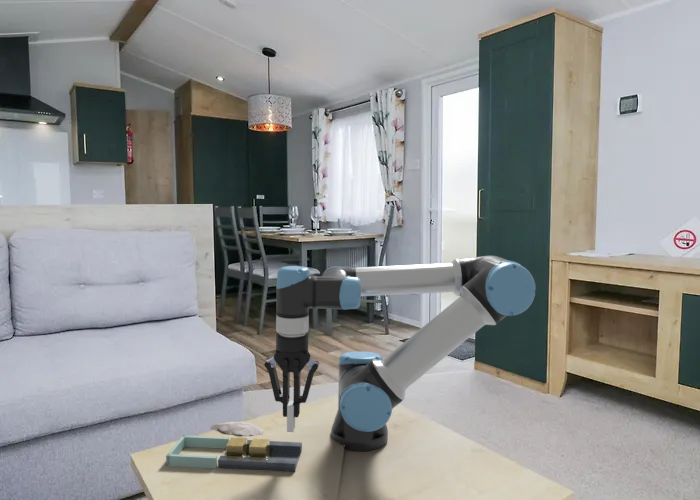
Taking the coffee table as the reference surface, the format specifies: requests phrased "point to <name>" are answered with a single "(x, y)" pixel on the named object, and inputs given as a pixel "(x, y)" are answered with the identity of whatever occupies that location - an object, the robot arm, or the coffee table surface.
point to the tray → (194, 460)
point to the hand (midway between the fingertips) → (291, 429)
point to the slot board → (279, 459)
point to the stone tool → (238, 428)
